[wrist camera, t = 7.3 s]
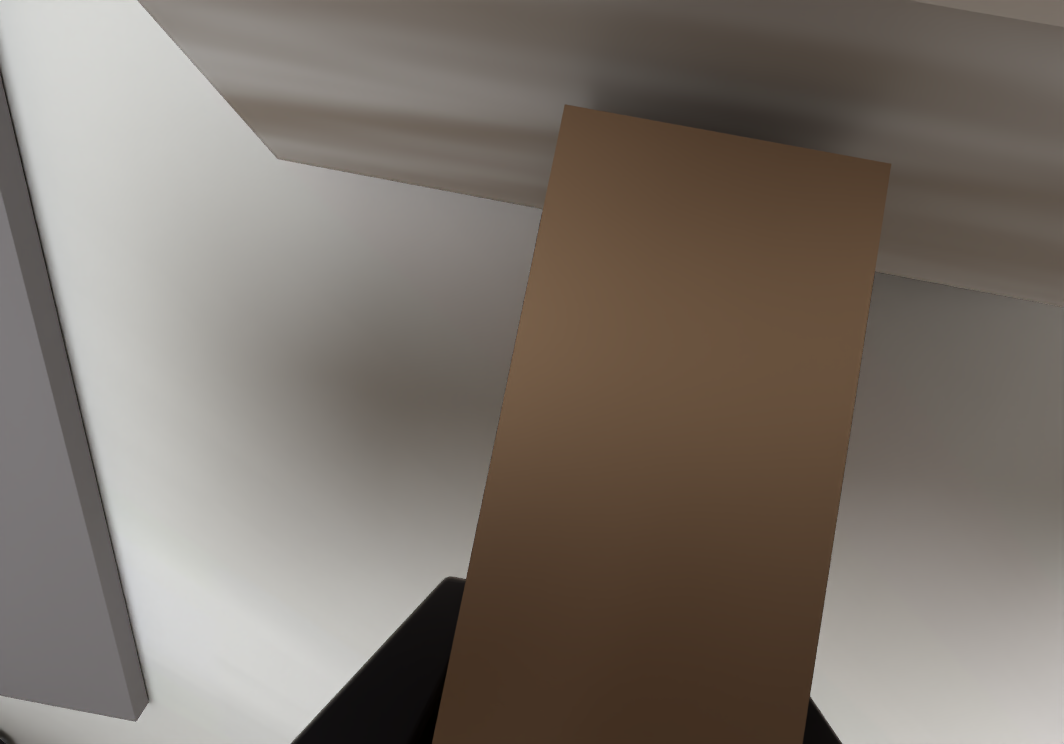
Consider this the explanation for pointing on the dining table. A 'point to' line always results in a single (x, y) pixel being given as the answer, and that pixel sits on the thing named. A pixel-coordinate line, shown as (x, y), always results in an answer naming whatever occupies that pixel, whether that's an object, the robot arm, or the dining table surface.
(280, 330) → the dining table surface
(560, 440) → the t-shaped pusher tool
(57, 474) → the tool mat
